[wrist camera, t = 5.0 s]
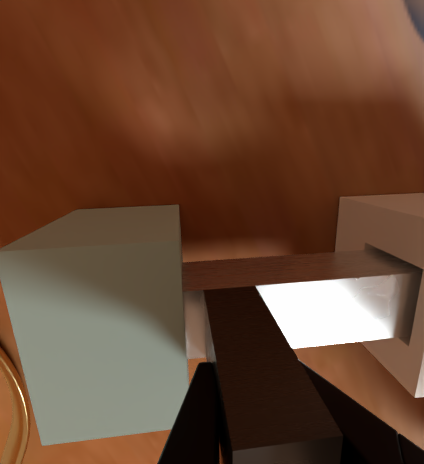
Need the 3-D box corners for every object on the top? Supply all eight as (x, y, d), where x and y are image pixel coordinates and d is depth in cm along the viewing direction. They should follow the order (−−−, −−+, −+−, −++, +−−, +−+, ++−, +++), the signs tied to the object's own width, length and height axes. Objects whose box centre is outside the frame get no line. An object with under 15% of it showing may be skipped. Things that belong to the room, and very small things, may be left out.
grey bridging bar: (407, 246, 14) (745, 380, 6) (398, 298, 15) (684, 483, 7) (110, 267, 13) (-27, 486, 4) (118, 323, 14) (15, 604, 5)
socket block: (179, 204, 16) (179, 240, 9) (186, 323, 18) (190, 426, 11) (76, 209, 15) (-7, 251, 8) (96, 331, 17) (42, 445, 10)
